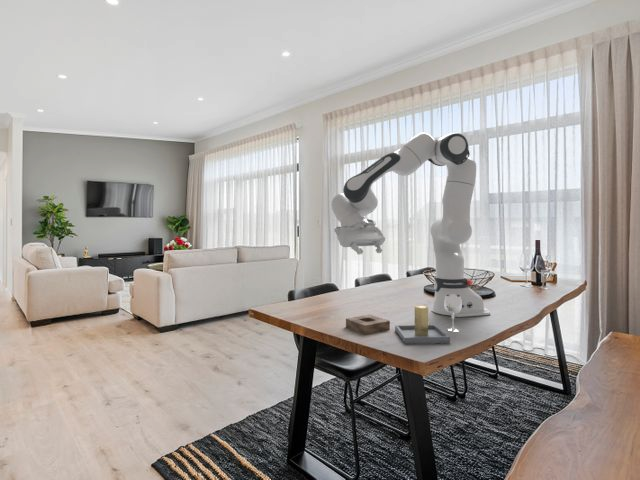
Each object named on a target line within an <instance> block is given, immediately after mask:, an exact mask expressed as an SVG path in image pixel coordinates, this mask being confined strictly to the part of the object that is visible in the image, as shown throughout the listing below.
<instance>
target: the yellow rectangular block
mask: <svg viewBox="0 0 640 480" xmlns="http://www.w3.org/2000/svg"><path fill="white" fill-rule="evenodd" d="M414 325H415V334H416V335H419V336H425V335H428V325H429V307H428V306H425V305H418V306H417V305H416V306H414Z"/></svg>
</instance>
